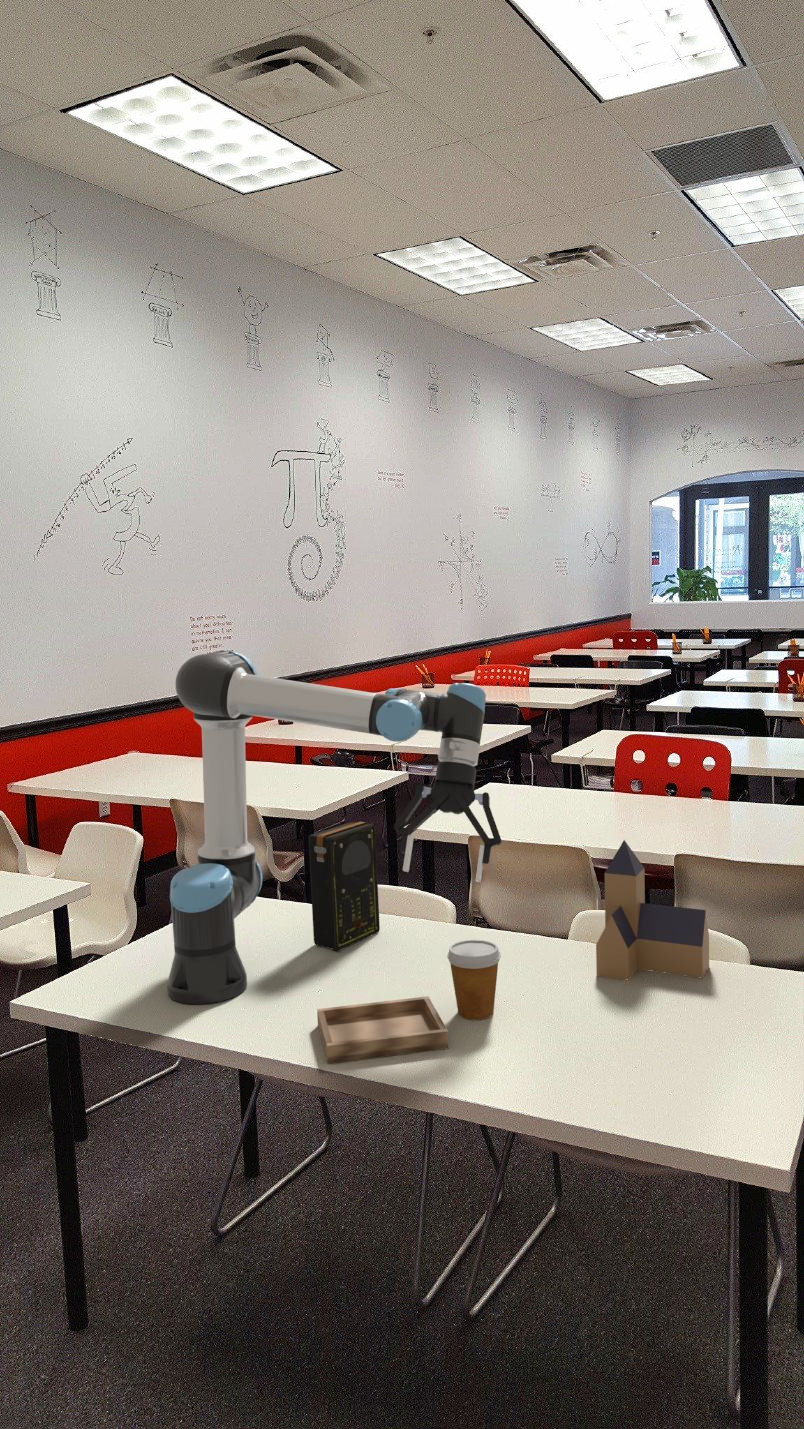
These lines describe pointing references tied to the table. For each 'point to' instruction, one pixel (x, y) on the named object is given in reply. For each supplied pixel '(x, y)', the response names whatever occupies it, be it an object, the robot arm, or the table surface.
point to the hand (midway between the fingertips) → (441, 876)
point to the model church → (647, 928)
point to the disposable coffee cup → (474, 977)
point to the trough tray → (381, 1029)
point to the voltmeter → (344, 885)
